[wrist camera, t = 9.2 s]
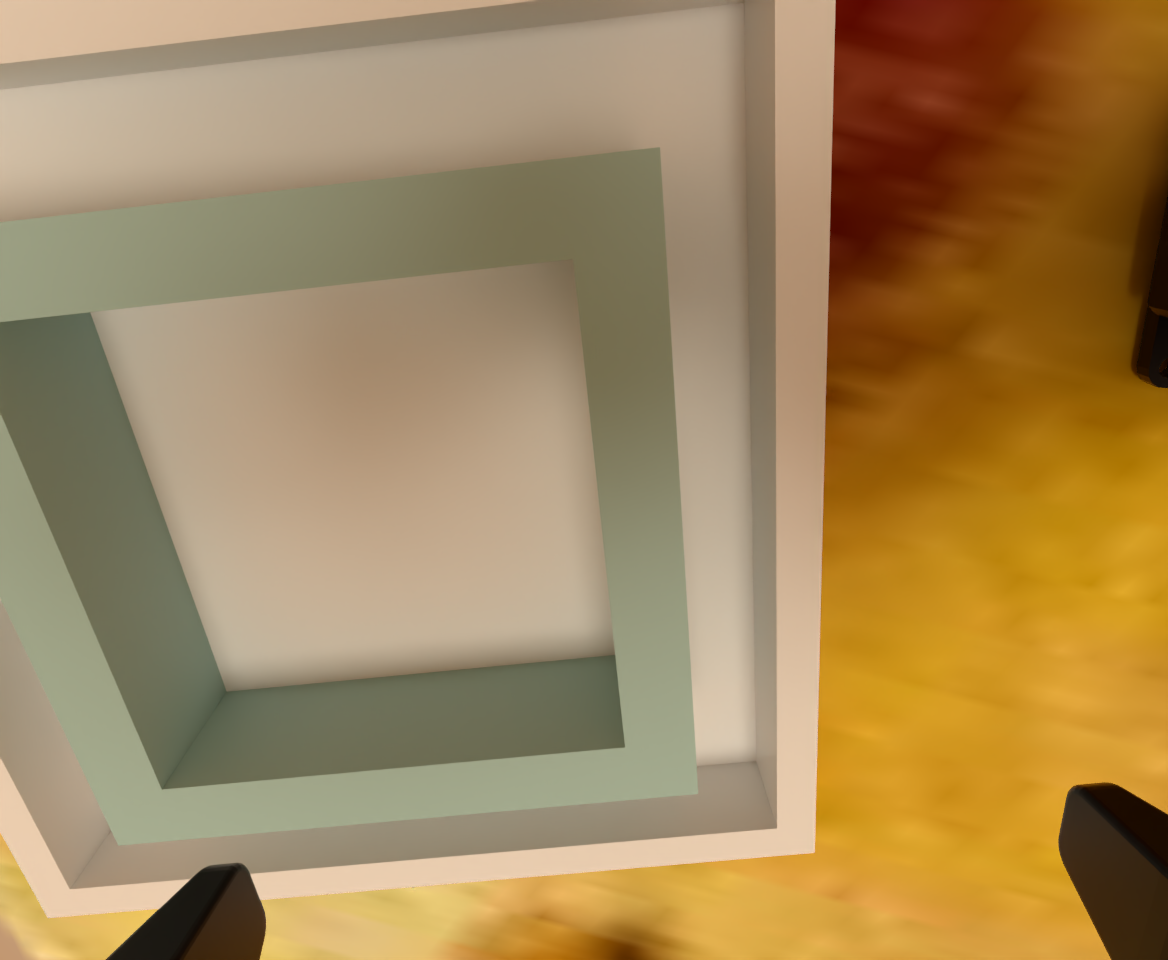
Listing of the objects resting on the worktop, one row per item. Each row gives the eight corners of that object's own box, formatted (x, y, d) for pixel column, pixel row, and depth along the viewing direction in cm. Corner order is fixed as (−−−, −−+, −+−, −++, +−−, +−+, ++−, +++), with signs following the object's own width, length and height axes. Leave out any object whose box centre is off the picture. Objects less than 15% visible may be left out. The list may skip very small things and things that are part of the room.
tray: (787, -57, 14) (838, -110, 12) (785, 768, 23) (814, 852, 20) (-251, 67, 15) (-437, 44, 12) (110, 828, 23) (47, 917, 20)
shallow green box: (641, 151, 15) (660, 146, 12) (678, 696, 21) (698, 794, 18) (-18, 226, 16) (-170, 241, 12) (188, 742, 21) (118, 845, 18)
